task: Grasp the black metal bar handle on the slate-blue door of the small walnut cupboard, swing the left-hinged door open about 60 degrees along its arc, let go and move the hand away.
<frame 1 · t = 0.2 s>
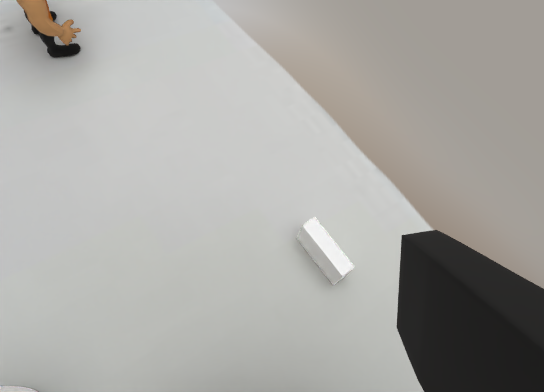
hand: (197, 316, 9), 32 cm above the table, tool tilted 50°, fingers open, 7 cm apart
action figure: (55, 39, 47), on the table
eraser: (319, 257, 42), on the table
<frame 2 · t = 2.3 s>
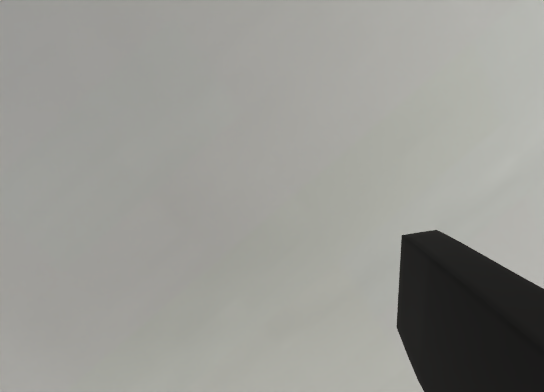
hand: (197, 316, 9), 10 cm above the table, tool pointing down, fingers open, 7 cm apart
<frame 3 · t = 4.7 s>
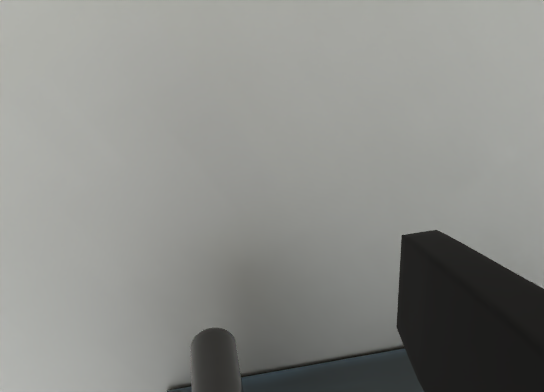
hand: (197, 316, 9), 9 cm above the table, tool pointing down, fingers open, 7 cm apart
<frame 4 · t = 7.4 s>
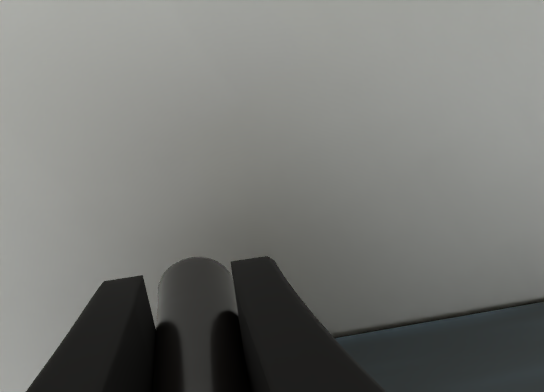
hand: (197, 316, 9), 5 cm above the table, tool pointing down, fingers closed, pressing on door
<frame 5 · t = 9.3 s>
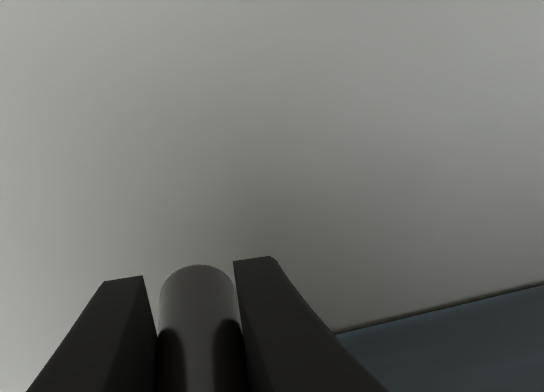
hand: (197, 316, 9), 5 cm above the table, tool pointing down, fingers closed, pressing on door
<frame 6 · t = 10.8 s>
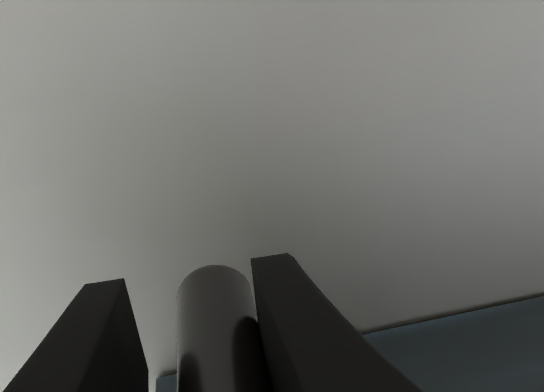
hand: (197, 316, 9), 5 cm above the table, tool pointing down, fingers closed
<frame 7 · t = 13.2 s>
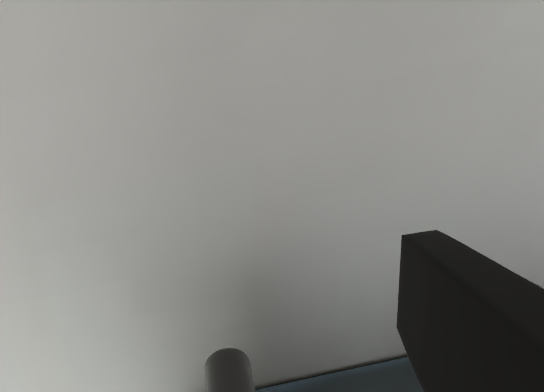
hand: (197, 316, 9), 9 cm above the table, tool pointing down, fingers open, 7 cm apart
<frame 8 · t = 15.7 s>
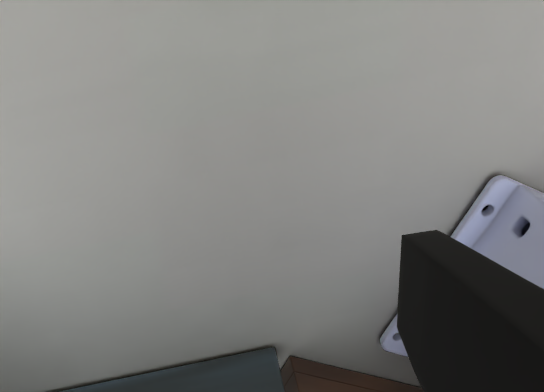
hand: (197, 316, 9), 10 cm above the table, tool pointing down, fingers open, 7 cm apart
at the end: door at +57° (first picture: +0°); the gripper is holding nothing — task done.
